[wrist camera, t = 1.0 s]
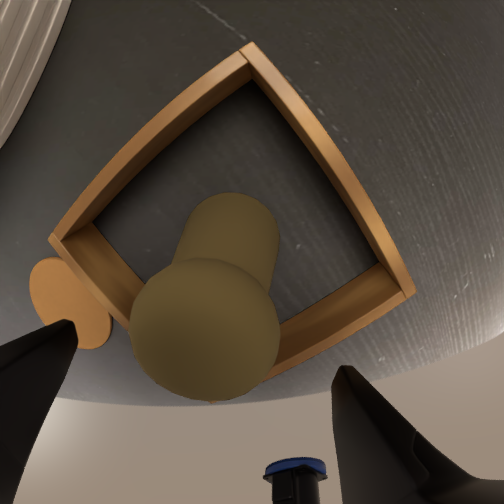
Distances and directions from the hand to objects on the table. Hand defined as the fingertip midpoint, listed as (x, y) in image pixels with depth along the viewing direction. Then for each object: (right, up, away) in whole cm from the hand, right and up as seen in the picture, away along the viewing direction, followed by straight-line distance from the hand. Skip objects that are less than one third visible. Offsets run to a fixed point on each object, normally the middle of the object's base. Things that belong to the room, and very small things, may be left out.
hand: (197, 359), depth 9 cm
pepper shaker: (0, +4, +10) cm, 11 cm away
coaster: (-14, -1, +12) cm, 19 cm away
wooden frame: (0, +4, +10) cm, 11 cm away
